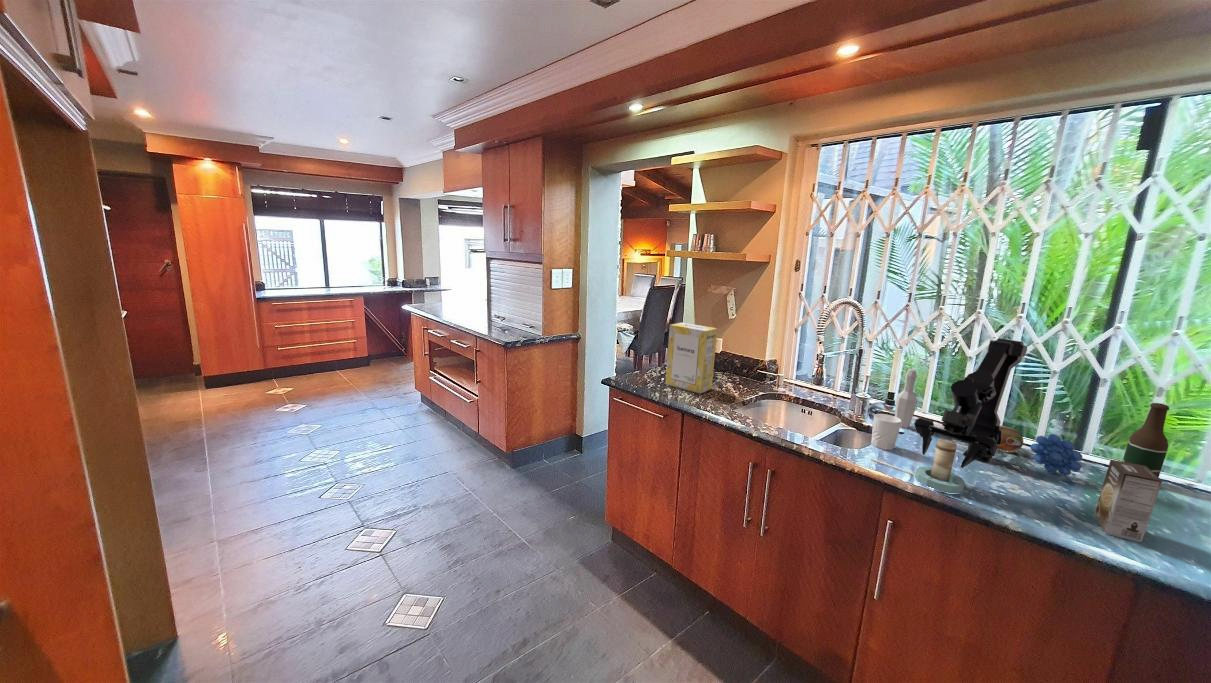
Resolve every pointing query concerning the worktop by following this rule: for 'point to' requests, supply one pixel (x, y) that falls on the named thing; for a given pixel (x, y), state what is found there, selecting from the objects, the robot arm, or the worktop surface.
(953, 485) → the green ring
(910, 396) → the faceted bottle
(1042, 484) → the worktop surface
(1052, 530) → the worktop surface
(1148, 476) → the coffee box
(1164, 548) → the worktop surface
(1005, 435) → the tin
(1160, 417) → the beer bottle
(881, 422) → the white cup
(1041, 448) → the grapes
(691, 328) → the pasta box
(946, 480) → the wooden pepper mill
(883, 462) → the thin beige stick
